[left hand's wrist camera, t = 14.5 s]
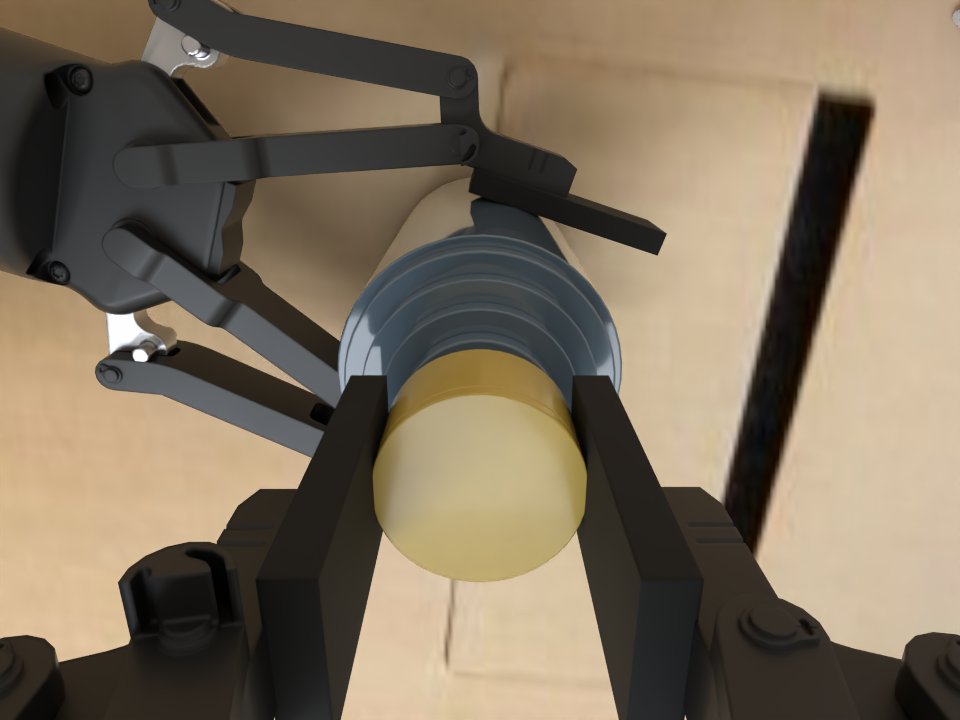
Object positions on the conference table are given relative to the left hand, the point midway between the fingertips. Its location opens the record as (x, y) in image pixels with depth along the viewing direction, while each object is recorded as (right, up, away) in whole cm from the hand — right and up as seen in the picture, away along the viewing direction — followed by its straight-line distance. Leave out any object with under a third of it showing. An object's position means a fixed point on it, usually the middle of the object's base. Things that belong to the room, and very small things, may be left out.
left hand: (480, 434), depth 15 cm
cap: (0, -1, -2) cm, 2 cm away
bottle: (0, +6, +16) cm, 17 cm away
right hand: (+5, +2, +10) cm, 11 cm away
